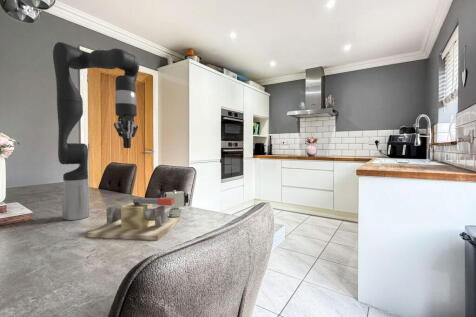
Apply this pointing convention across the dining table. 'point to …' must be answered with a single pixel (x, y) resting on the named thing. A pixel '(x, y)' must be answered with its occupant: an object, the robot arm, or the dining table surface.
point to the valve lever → (154, 201)
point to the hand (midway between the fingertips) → (127, 148)
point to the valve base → (134, 233)
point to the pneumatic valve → (176, 202)
